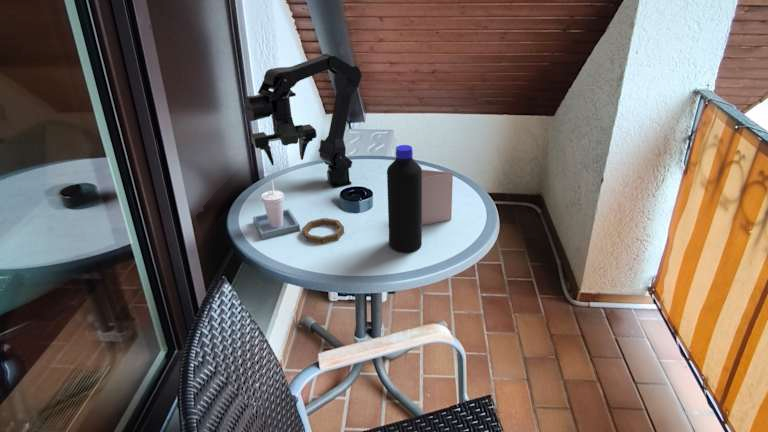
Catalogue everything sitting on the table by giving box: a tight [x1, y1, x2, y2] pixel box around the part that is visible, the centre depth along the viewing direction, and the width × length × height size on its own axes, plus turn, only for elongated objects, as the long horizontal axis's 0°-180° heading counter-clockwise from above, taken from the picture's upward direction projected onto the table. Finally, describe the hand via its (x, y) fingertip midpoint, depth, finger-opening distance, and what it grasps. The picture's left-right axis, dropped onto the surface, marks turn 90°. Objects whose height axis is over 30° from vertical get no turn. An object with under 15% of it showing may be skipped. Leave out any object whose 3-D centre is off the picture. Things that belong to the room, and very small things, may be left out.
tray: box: [252, 208, 301, 241], centre depth 157 cm, size 11×11×2 cm
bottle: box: [386, 144, 423, 254], centre depth 140 cm, size 9×9×28 cm
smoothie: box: [261, 179, 285, 228], centre depth 154 cm, size 6×6×14 cm
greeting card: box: [422, 169, 454, 226], centre depth 154 cm, size 11×7×15 cm, turn 72°
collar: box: [301, 217, 345, 245], centre depth 153 cm, size 11×11×2 cm
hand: (287, 162), depth 167 cm, fingers open, 9 cm apart
